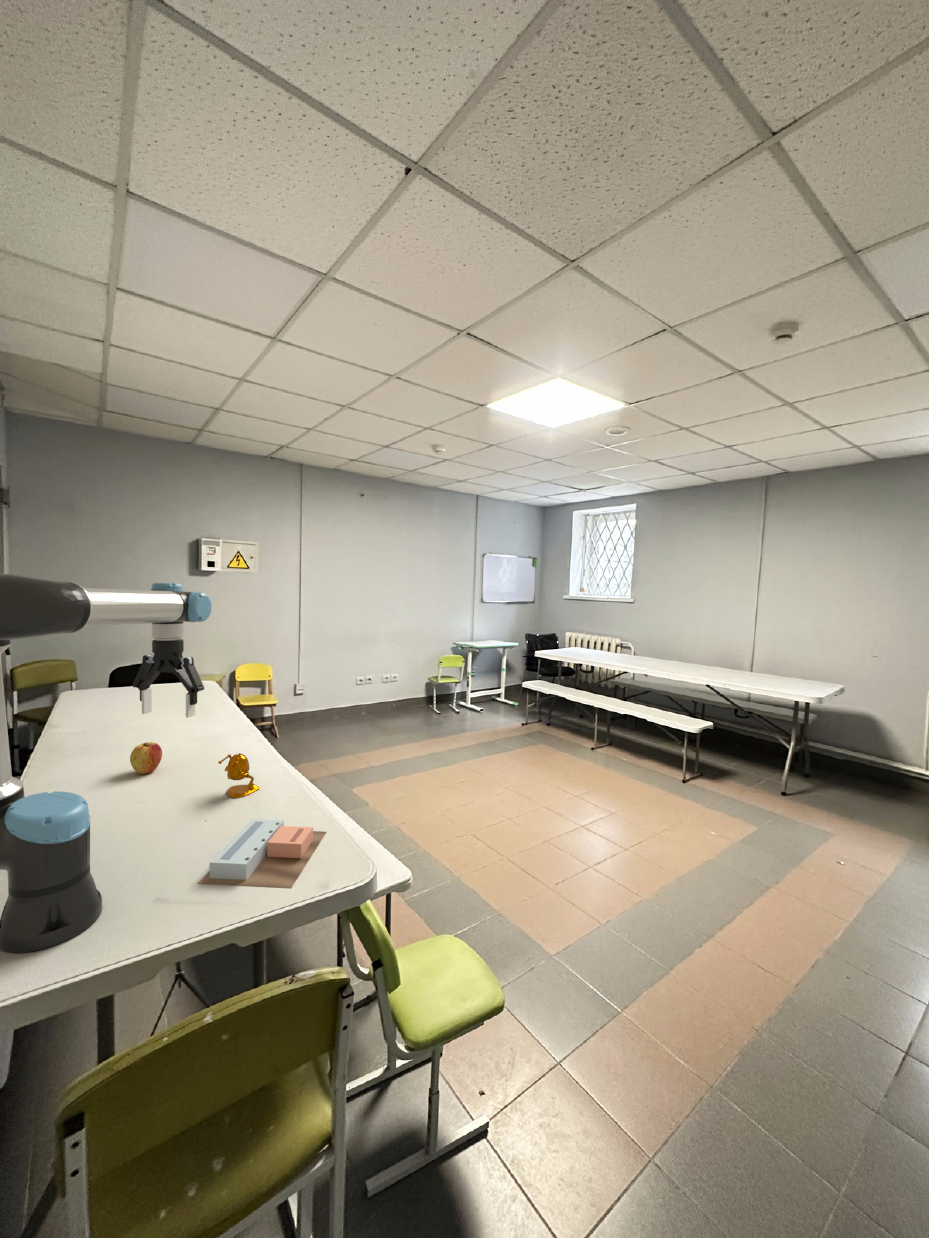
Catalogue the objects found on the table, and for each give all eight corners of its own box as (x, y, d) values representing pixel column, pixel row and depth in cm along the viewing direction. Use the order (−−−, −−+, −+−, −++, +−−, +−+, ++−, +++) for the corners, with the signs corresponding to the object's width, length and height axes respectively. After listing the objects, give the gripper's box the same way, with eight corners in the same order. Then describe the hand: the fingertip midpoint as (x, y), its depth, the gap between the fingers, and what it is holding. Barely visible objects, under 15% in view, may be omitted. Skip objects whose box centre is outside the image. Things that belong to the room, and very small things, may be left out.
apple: (159, 775, 163) (158, 745, 162) (126, 778, 159) (126, 748, 159) (164, 766, 171) (164, 737, 170) (133, 768, 168) (133, 739, 167)
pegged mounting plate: (246, 879, 106) (246, 863, 106) (209, 878, 107) (209, 861, 106) (283, 833, 126) (283, 819, 126) (252, 832, 127) (252, 818, 126)
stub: (301, 858, 115) (301, 843, 115) (267, 856, 115) (267, 842, 115) (313, 840, 123) (313, 826, 123) (281, 839, 123) (281, 825, 123)
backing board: (291, 891, 104) (291, 888, 104) (197, 886, 105) (197, 883, 105) (326, 834, 128) (326, 831, 128) (250, 830, 129) (250, 827, 129)
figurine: (217, 791, 152) (217, 753, 151) (254, 783, 159) (254, 746, 158) (225, 801, 145) (225, 761, 145) (263, 792, 152) (263, 754, 151)
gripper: (217, 639, 139) (217, 714, 141) (138, 635, 143) (139, 708, 144) (199, 642, 132) (199, 721, 133) (116, 637, 136) (117, 714, 137)
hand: (168, 714), depth 139 cm, fingers open, 13 cm apart
